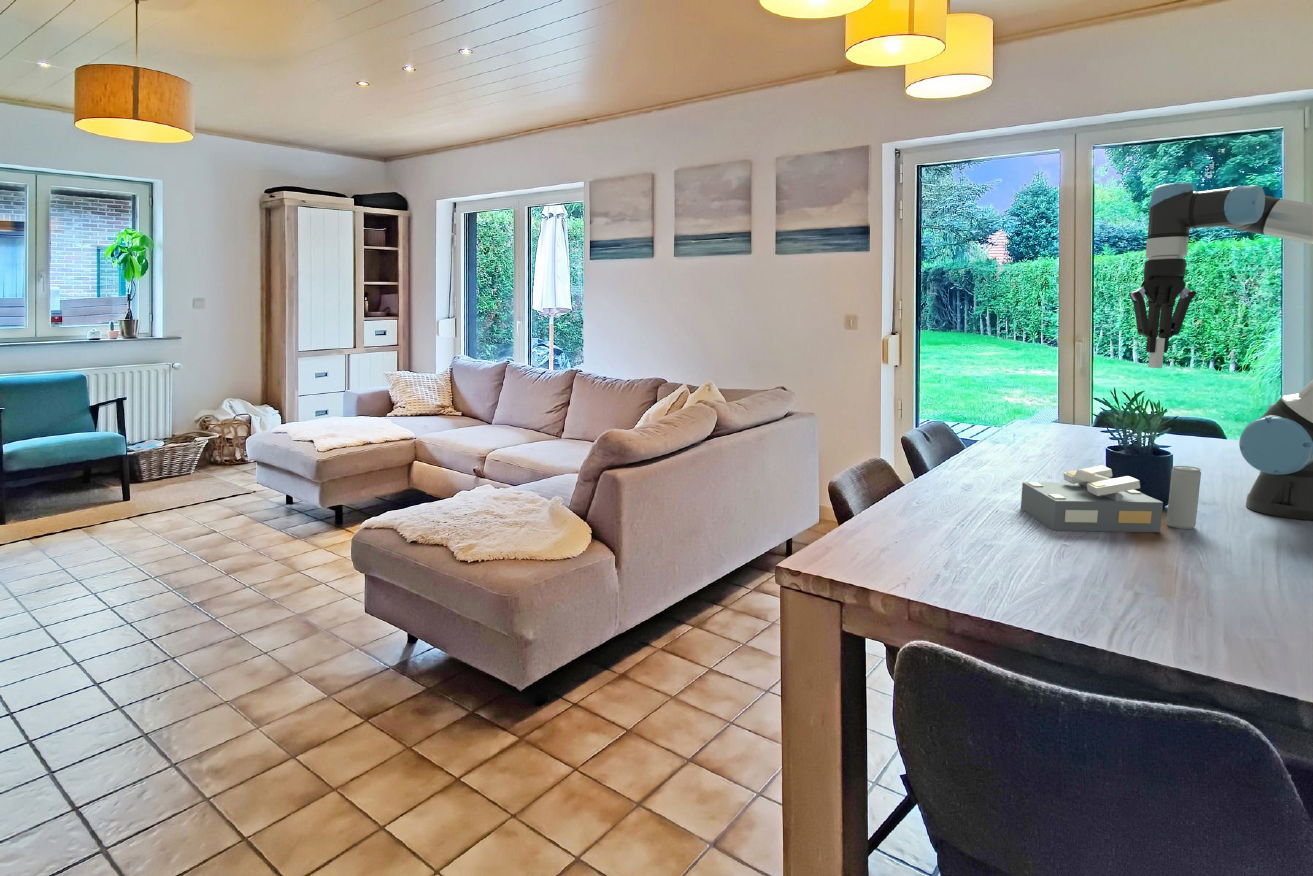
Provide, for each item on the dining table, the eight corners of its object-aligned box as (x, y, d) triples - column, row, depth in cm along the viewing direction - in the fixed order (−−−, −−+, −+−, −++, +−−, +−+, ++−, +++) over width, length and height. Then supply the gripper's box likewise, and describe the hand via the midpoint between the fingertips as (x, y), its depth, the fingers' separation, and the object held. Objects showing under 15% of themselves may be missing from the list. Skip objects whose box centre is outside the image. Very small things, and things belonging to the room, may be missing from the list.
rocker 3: (1129, 483, 152) (1127, 475, 151) (1140, 488, 148) (1139, 479, 147) (1087, 491, 153) (1086, 482, 152) (1097, 495, 149) (1096, 487, 148)
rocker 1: (1102, 472, 162) (1101, 464, 162) (1112, 476, 158) (1111, 468, 158) (1064, 479, 163) (1063, 472, 163) (1073, 484, 159) (1071, 476, 159)
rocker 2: (1112, 486, 157) (1115, 478, 157) (1123, 491, 153) (1126, 482, 153) (1074, 476, 158) (1077, 468, 157) (1083, 480, 154) (1086, 472, 153)
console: (1116, 510, 164) (1119, 476, 163) (1160, 532, 147) (1164, 495, 146) (1020, 508, 166) (1022, 475, 165) (1053, 530, 149) (1056, 494, 148)
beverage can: (1199, 530, 149) (1206, 470, 147) (1172, 529, 150) (1178, 470, 148) (1188, 523, 153) (1194, 466, 151) (1161, 522, 154) (1167, 465, 152)
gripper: (1187, 259, 167) (1176, 366, 170) (1125, 260, 168) (1115, 366, 172) (1208, 256, 159) (1196, 368, 163) (1143, 257, 160) (1133, 368, 164)
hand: (1155, 367), depth 167 cm, fingers closed
